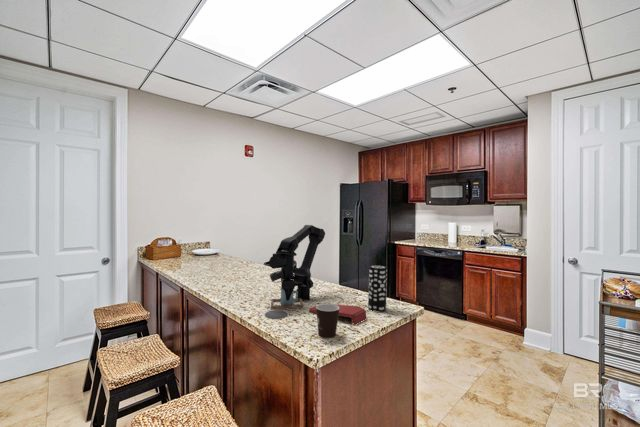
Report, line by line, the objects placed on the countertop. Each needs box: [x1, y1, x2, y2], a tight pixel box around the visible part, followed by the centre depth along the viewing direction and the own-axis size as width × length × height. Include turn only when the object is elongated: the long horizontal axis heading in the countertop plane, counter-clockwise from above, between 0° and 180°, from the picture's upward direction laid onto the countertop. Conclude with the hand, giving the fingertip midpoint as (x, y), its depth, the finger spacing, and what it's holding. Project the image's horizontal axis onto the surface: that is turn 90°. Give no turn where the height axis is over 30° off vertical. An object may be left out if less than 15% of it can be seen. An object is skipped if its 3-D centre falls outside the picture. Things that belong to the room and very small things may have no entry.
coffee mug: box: [315, 303, 339, 339], centre depth 111 cm, size 12×9×10 cm
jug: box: [280, 287, 299, 306], centre depth 144 cm, size 8×6×8 cm
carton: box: [308, 303, 367, 325], centre depth 131 cm, size 12×5×25 cm
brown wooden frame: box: [270, 297, 304, 310], centre depth 144 cm, size 15×12×1 cm
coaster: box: [264, 309, 289, 320], centre depth 129 cm, size 10×10×1 cm
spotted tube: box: [367, 264, 388, 312], centre depth 140 cm, size 8×8×20 cm
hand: (287, 297), depth 144 cm, fingers open, 9 cm apart
